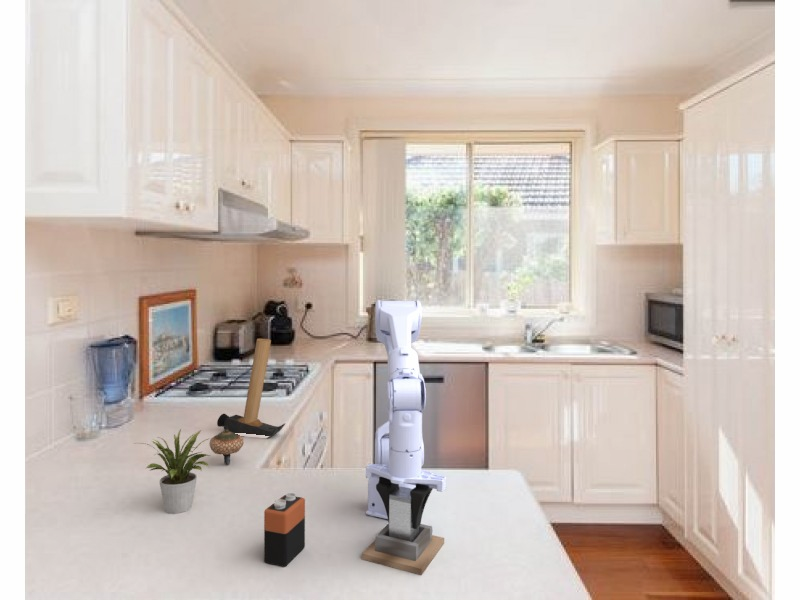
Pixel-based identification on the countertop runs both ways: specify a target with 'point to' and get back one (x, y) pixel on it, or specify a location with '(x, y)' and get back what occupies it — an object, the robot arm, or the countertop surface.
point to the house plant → (178, 474)
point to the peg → (401, 515)
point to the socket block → (404, 550)
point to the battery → (284, 529)
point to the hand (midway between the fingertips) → (404, 523)
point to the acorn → (226, 444)
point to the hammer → (252, 399)
